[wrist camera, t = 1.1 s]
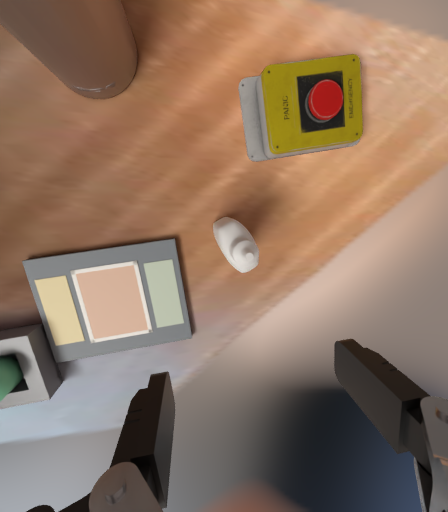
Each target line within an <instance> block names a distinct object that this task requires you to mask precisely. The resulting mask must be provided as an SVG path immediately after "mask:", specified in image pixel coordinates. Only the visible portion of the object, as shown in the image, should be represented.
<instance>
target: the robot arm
mask: <svg viewBox="0 0 448 512" xmlns="http://www.w3.org/2000/svg"><path fill="white" fill-rule="evenodd" d="M0 24H1V25H2V26H3V27H4V28H6V29H7V30H8V31H9V32H10V33H11V34H12V35H13V36H14V37H15V38H16V39H17V40H18V41H19V42H20V43H22V44H23V45H24V46H25V47H26V48H27V49H28V50H29V51H30V52H31V53H32V54H33V55H34V56H35V57H36V58H38V59H39V60H40V61H41V62H42V63H43V64H44V65H45V66H46V67H47V68H48V69H49V70H50V71H51V72H52V73H53V74H54V75H56V76H57V77H58V78H59V79H60V80H61V81H62V82H63V83H64V84H65V85H66V86H67V87H69V88H70V89H72V90H73V91H74V92H76V93H78V94H80V95H82V96H84V97H89V98H93V99H106V98H110V97H113V96H115V95H117V94H119V93H121V92H122V91H123V90H124V89H126V88H127V86H128V85H129V84H130V82H131V81H132V79H133V77H134V74H135V72H136V67H137V48H136V43H135V40H134V37H133V34H132V31H131V29H130V26H129V23H128V20H127V17H126V15H125V12H124V9H123V6H122V3H121V0H0ZM334 362H335V364H334V366H335V374H336V376H337V379H338V381H339V382H340V383H341V385H342V386H343V387H344V388H345V390H346V391H347V392H348V393H349V395H350V396H351V397H352V398H353V400H354V401H355V402H356V403H357V405H359V407H360V408H361V409H362V411H363V412H364V413H365V414H366V416H367V417H368V418H369V419H370V421H371V422H372V423H373V424H374V426H375V427H376V428H377V429H378V430H379V432H380V433H381V434H382V435H383V437H384V438H385V439H386V440H387V441H388V443H389V444H390V445H391V446H392V448H393V449H394V450H395V451H396V453H397V454H399V453H403V452H407V451H410V452H411V453H412V455H413V456H414V467H415V472H416V478H417V483H418V488H419V495H420V500H421V506H422V511H423V512H448V400H447V399H444V398H441V397H435V396H430V395H428V394H427V393H426V392H425V391H424V390H422V389H421V388H420V387H419V386H418V385H416V384H415V383H414V382H413V381H411V380H410V379H409V378H408V377H407V376H405V375H404V374H403V373H402V372H400V371H399V370H397V368H396V367H394V366H393V365H392V364H389V362H388V361H387V360H386V359H385V358H383V357H382V356H381V355H380V354H378V353H376V352H374V351H372V350H370V349H368V348H363V347H362V346H361V345H360V344H358V343H357V342H356V341H355V340H353V339H347V340H341V341H336V342H335V361H334ZM174 419H175V402H174V396H173V391H172V386H171V381H170V376H169V372H163V373H157V374H152V375H151V376H150V380H149V384H148V388H145V389H140V390H139V391H138V392H137V393H136V395H135V396H134V397H133V399H132V400H131V403H130V406H129V409H128V414H127V415H126V419H125V422H124V425H123V428H122V431H121V434H120V437H119V441H118V444H117V447H116V450H115V454H114V456H113V460H112V463H111V466H110V468H109V469H108V470H107V471H106V472H105V473H104V474H103V475H102V476H101V477H100V478H99V479H98V481H97V482H96V484H95V485H94V487H93V489H92V491H91V493H89V494H88V495H87V496H85V497H83V498H82V499H80V500H78V501H77V502H75V503H73V504H71V505H70V506H68V507H66V508H64V509H62V510H61V511H59V512H163V511H162V508H166V507H167V497H168V486H169V475H170V474H169V473H170V463H171V452H172V441H173V430H174ZM27 512H55V511H54V509H53V508H52V507H51V506H48V505H41V506H37V507H34V508H32V509H30V510H28V511H27Z"/></svg>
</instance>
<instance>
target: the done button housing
mask: <svg viewBox="0 0 448 512" xmlns="http://www.w3.org/2000/svg"><path fill="white" fill-rule="evenodd" d="M0 356H7V357H11V358H13V359H15V360H17V361H18V362H19V364H20V367H21V370H22V372H23V375H24V376H23V379H22V380H21V381H20V383H19V384H18V385H16V386H15V387H14V388H13V389H12V390H11V391H10V392H9V393H8V394H7V395H6V396H5V397H4V398H3V399H2V400H1V401H0V409H4V408H9V407H14V406H19V405H24V404H29V403H34V402H39V401H44V400H50V399H51V397H52V396H53V395H54V393H55V392H56V391H57V389H58V388H59V387H60V385H61V384H62V383H63V380H62V377H61V374H60V371H59V368H58V365H57V363H56V361H55V358H54V355H53V352H52V349H51V346H50V343H49V340H48V337H47V334H46V331H45V328H44V325H43V323H42V324H36V325H30V326H24V327H18V328H12V329H7V330H1V331H0Z"/></svg>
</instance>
